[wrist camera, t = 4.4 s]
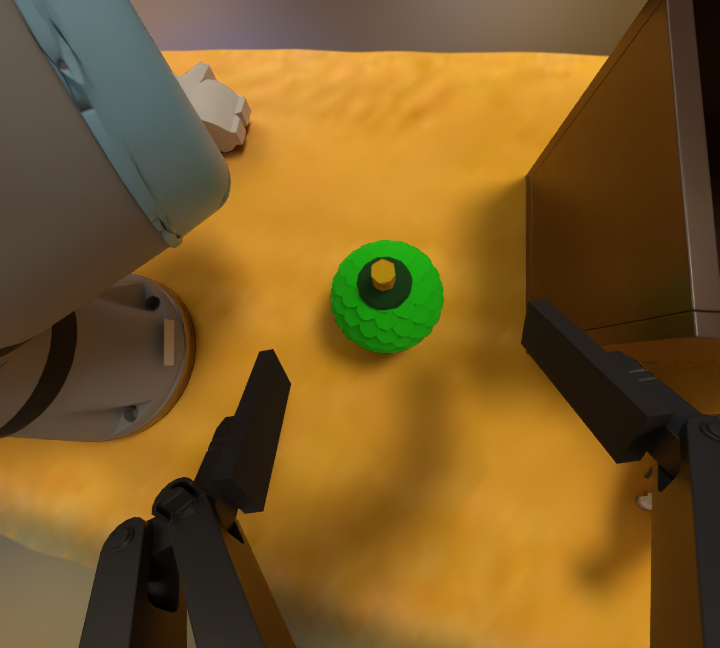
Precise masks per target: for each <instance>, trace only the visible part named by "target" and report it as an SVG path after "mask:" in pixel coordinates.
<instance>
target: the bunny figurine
mask: <svg viewBox="0 0 720 648" xmlns="http://www.w3.org/2000/svg"><path fill="white" fill-rule="evenodd" d="M173 74H174V73H173ZM174 75H175V77H176V79H177V80H178V82H179V84H180V85H181V87H182V89H183V90H184V92H185V94H186V95H187V97H188V99H189V100H190V102H191V104H192V105H193V107H194V109H195V110H196V112H197V114H198V115H199V117H200V119H201V120H202V122H203V124H204V125H205V127H206V129H207V130H208V132H209V134H210V135H211V137H212V139H213V140H214V142H215V144H216V145H217V147H218V149H219V150H220V151H222V152H229V151H232V150H233V149H234V147H235V146H236V145H237V144H238V145H243V142H244V138H245V134H246V130H245V128H244V126H246V125H248V122H249V118H250V114H251V110H250V108H249V105H248V103H247V101H246V99H245V97H241V96H238V95H237V94H236V93H235V92H233V91H232V90H231V89H230V88H228V87H227V86H226V85H224V84H222V83H220V82H219V81H217V80H216V78H215V76H214V74H213V72H212V70H211V68H210V66H209V65H208V64H205V63H203V62H199V63H198V64H197V65H196V66H194V67H193V68H192V69H191V70H189V71H188V72H187V73H186V74H184V75H182V76H180V77H179V76H177V75H176V74H174Z"/></svg>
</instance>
